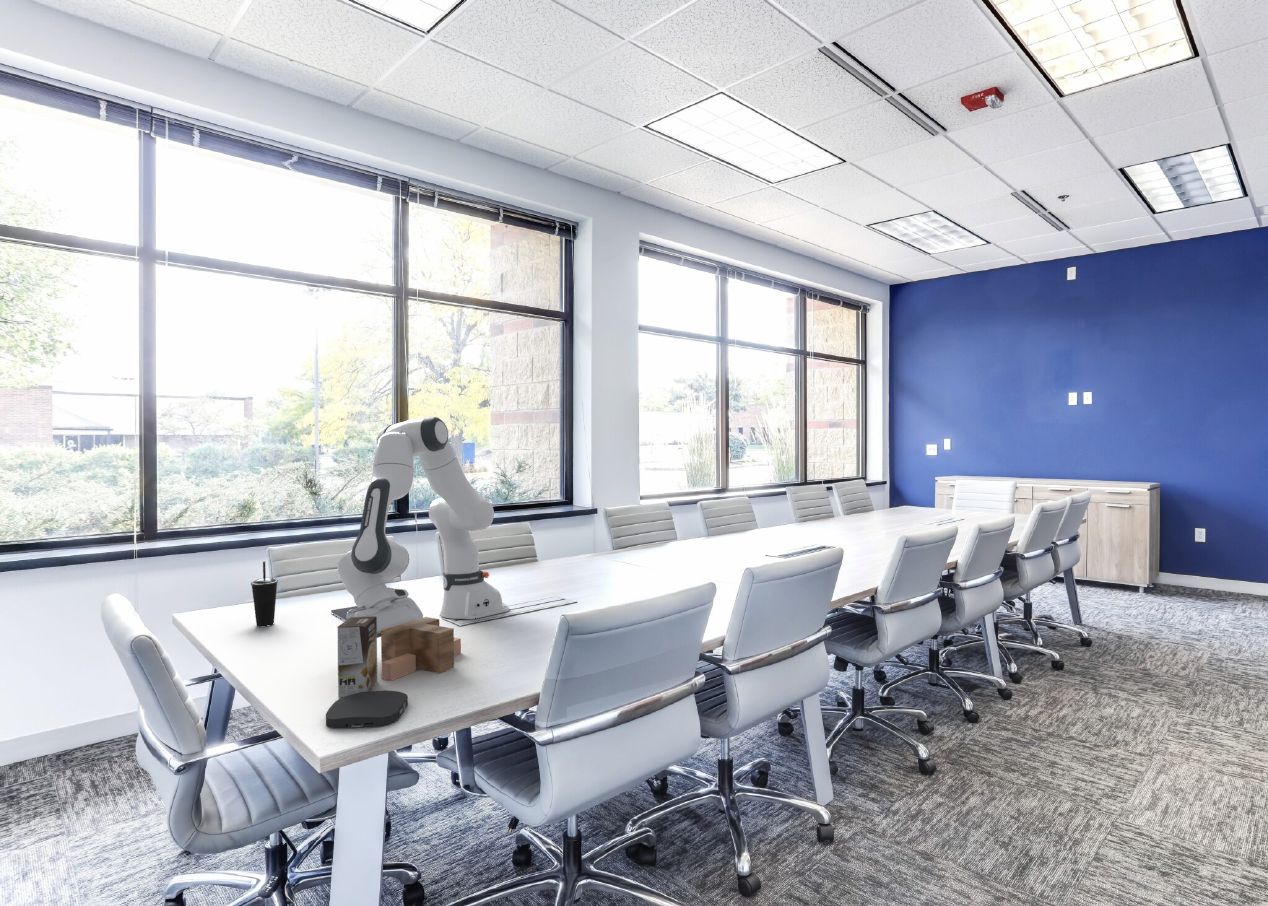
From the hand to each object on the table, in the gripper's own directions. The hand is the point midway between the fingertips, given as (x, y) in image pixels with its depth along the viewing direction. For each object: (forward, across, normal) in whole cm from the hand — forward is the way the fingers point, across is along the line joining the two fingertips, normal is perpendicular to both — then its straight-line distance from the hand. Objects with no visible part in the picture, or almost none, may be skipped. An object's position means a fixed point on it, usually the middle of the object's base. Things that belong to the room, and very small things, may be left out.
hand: (402, 644), depth 181 cm
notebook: (-31, +26, +38) cm, 56 cm away
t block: (+9, 0, -3) cm, 9 cm away
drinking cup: (-44, +5, +50) cm, 67 cm away
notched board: (+8, 0, -2) cm, 9 cm away
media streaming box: (+18, -28, -11) cm, 35 cm away
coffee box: (+8, -20, -2) cm, 21 cm away
